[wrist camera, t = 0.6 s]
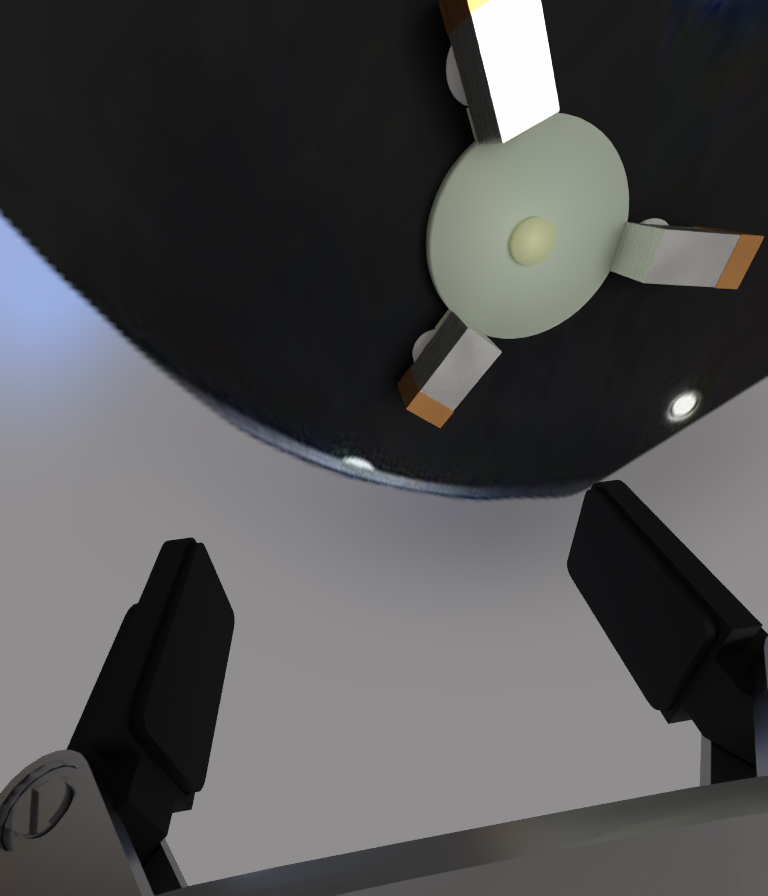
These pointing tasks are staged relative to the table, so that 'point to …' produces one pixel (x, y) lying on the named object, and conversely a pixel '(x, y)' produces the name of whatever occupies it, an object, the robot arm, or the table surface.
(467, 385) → the orange-tipped eraser
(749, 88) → the table surface
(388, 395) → the table surface
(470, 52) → the white and orange block
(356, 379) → the table surface
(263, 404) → the table surface
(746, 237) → the orange-tipped grey block
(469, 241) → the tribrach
